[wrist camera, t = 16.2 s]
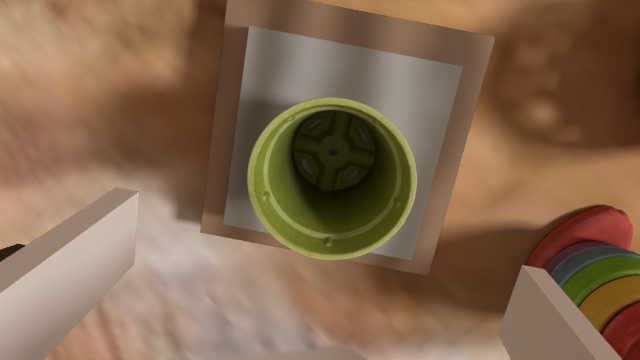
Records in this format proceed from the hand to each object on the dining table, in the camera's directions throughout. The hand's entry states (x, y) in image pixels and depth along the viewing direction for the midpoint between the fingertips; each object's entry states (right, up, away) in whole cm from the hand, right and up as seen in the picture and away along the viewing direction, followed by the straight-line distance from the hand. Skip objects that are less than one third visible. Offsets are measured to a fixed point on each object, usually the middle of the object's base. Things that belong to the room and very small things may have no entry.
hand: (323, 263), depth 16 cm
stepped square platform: (+1, +7, +24) cm, 25 cm away
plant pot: (+1, +5, +18) cm, 19 cm away
